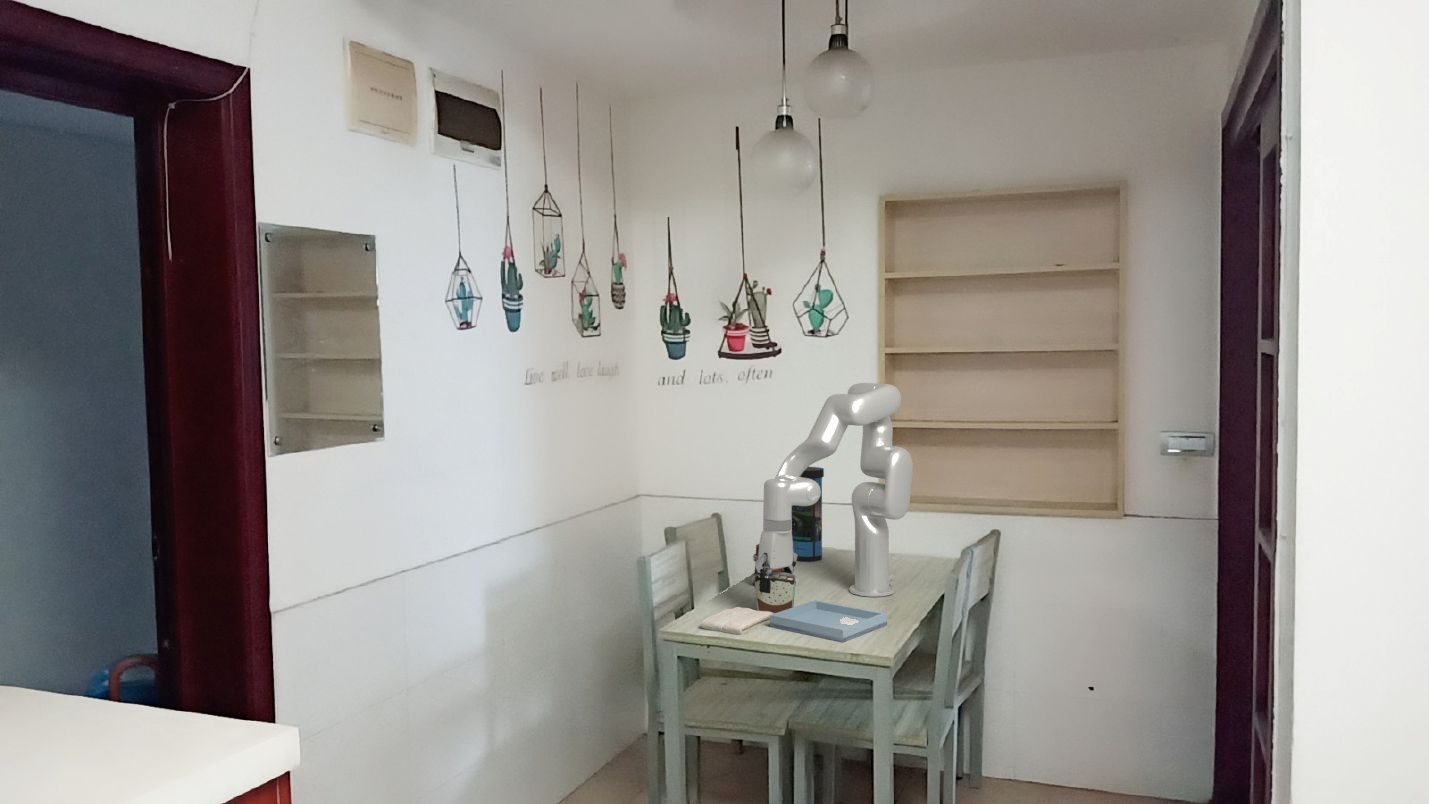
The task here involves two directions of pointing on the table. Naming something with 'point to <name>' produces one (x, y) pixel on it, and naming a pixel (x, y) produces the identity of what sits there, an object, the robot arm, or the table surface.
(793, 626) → the tray
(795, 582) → the food container
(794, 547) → the advertising column
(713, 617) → the washcloth
